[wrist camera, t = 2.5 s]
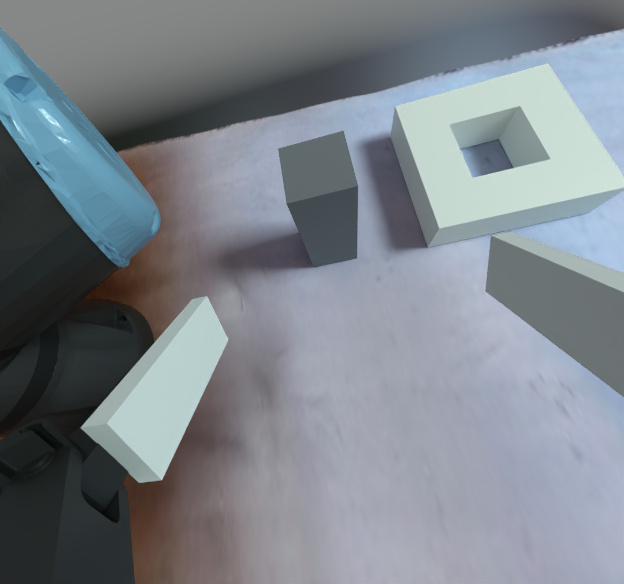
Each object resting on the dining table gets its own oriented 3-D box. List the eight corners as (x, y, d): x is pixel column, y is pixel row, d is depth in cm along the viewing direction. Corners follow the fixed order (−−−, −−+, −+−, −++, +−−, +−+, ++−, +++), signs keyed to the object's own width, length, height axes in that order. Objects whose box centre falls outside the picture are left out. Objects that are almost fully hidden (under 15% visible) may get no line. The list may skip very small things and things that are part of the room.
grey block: (313, 267, 29) (286, 203, 17) (307, 229, 30) (278, 148, 19) (356, 257, 28) (358, 186, 17) (347, 220, 30) (343, 130, 18)
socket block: (427, 247, 27) (439, 228, 23) (390, 136, 32) (395, 106, 28) (589, 212, 25) (630, 186, 22) (523, 101, 30) (548, 63, 26)
